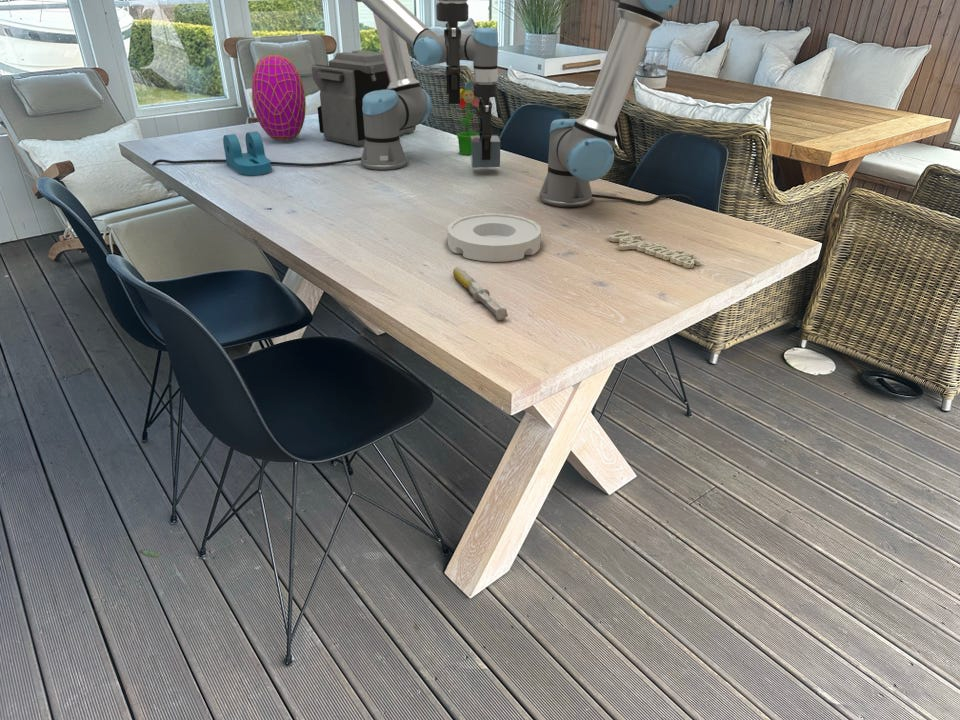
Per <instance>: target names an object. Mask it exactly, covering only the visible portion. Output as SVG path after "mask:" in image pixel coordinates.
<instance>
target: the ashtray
mask: <svg viewBox="0 0 960 720" xmlns="http://www.w3.org/2000/svg"><path fill="white" fill-rule="evenodd" d="M541 243H542V227H541V226H540V225H539V224H538V223H537V222H535V221H534V220H531V219H529V218H526V217H523V216H520V215H514V214H508V213H478V214H471V215H466V216H462V217H459V218H457V219H454V220H453V221H451V222H450V223H449V225H448V226H447V247H448V249H449V250H450V251H451V252H452V253H454V254H462V256H463V258H465V259H468V260H474V261H479V262H491V263H499V262H500V263H501V262H503V263H504V262H514V261H519V260H522V259H523V260H524V258H525V256H533V255H535V254H536V253H537V252H539V251H540V248H541Z"/></svg>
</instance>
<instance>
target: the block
mask: <svg viewBox="0 0 960 720" xmlns="http://www.w3.org/2000/svg"><path fill="white" fill-rule="evenodd" d="M480 137H483V136H480V135H479V136H471V155H470V163H471V167H472V168H473V169H475V168H500V167H501V140H500V137H499V135H491V150H490V160H482V139H480Z"/></svg>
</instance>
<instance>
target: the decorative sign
mask: <svg viewBox="0 0 960 720" xmlns="http://www.w3.org/2000/svg"><path fill="white" fill-rule="evenodd" d="M641 239H642V235H641V234H630V231H629V230H624V229H616V230H615V233H614V234H610V235H609V241H610V242H613V243H618V244H619V245H618V250H619V251H626V250H636V251H637V252H644V253H645V254H647V255H649V256H655V257H656V258H659V259H663V260H664V261H669V262H670V263H672V264H675V265H678V266H682V267H684V268H687V269H693V268H694V265H696V266H700V263H701V260H700V259H697V258H694V255H695V254H694V253H693V252H686V253H684V249H673V250H672V249H671V250H669V249H668V246H665V244H658V243H656V242H652V243H649V242H646V241H642V240H641Z"/></svg>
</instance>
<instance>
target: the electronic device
mask: <svg viewBox="0 0 960 720" xmlns="http://www.w3.org/2000/svg"><path fill="white" fill-rule="evenodd" d="M410 62H411V66H412V71H413V72H414V62H413V61H412V60H410ZM311 75H312V79H313V81H314V83H315V85H316V87H318V89H319V91H320V92H319V100H320V106H317V117H318V127H319V133H320V134H323V137H324V139H325V140H328V141H332V142H337V143H342V144H346V145H351V146H356V147H364V145H365V132H364V120H363V111H362V107H363V97H364V96H365V95H366V94H367V93H370V92H372V91H377V90H378V91H379V90H387V87H388V85H389V79H388V74H387V70H386V66H385V62H384V57H383V53H382V52H378V51H369V50H362V49H359V50H352V51H351V52H348V51H347V52H345V51H343V52H336V53H335V55H334V58H332V59H330V60H328V65H324V64H311ZM416 128H417V126H411V127H407V128H403V129H399V134H400V137H401V136H403V135H404V134H408V135H409V134H412V133H414V132H416Z"/></svg>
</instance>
